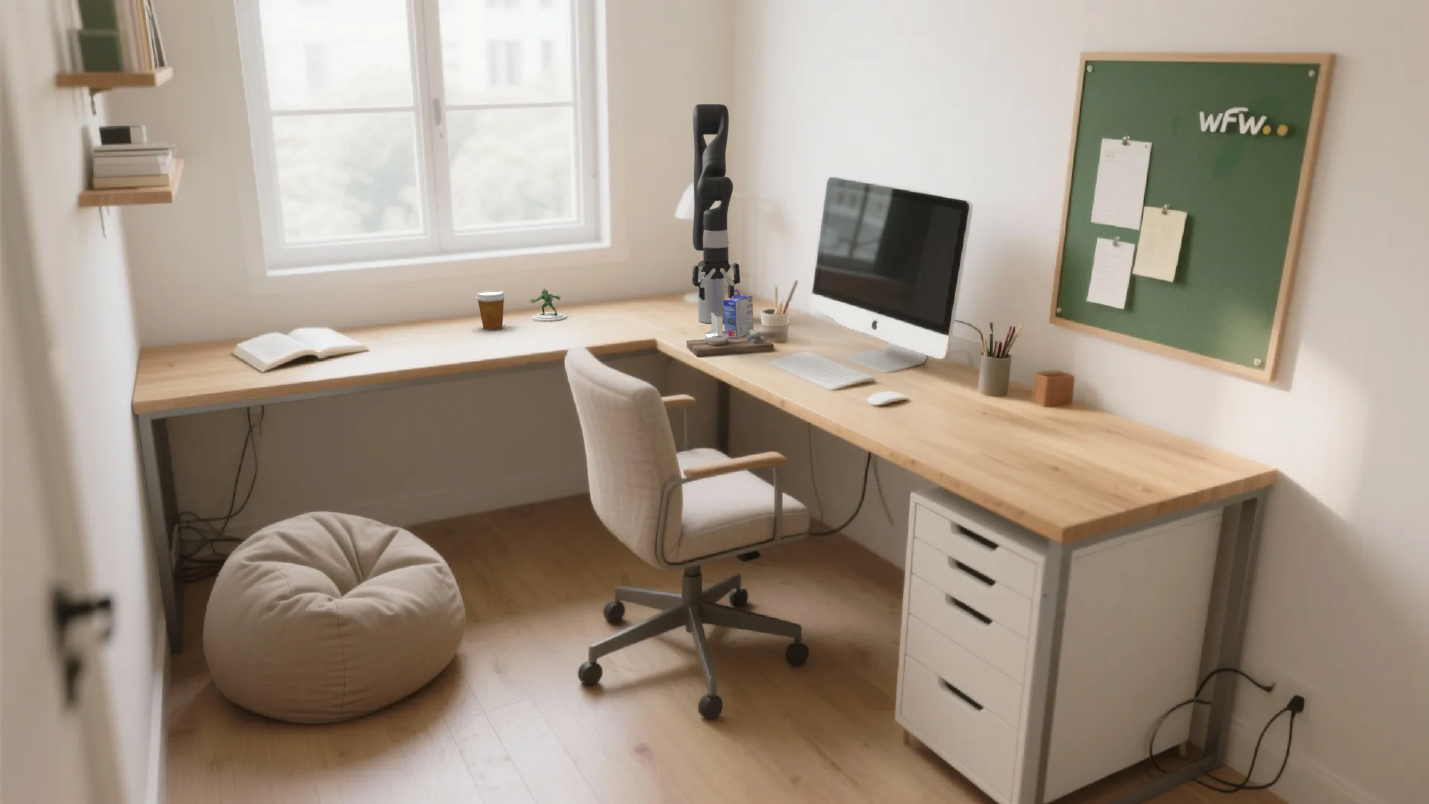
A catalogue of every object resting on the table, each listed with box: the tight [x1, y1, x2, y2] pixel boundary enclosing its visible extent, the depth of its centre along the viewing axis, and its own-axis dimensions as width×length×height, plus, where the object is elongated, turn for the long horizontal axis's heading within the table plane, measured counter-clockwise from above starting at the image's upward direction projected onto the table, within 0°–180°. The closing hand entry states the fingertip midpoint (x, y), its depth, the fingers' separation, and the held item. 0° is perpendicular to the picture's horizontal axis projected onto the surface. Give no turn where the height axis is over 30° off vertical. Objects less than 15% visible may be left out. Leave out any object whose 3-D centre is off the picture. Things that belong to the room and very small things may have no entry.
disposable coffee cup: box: [475, 290, 506, 331], centre depth 372 cm, size 10×10×12 cm
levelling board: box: [686, 329, 775, 358], centre depth 339 cm, size 13×24×5 cm, turn 105°
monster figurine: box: [529, 287, 567, 323], centre depth 386 cm, size 12×12×10 cm
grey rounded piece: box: [704, 312, 729, 346], centre depth 337 cm, size 7×7×9 cm
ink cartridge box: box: [723, 288, 755, 338], centre depth 357 cm, size 10×6×14 cm, turn 144°
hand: (716, 298), depth 335 cm, fingers open, 8 cm apart
